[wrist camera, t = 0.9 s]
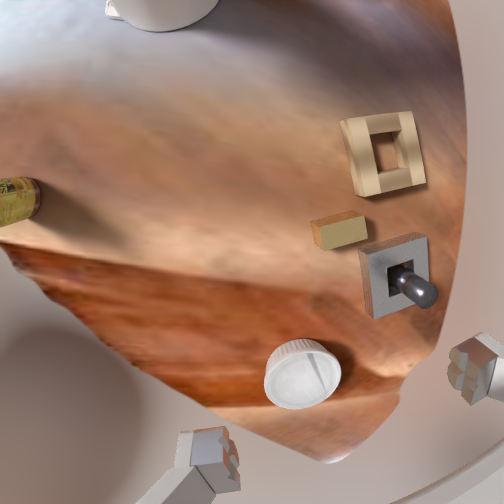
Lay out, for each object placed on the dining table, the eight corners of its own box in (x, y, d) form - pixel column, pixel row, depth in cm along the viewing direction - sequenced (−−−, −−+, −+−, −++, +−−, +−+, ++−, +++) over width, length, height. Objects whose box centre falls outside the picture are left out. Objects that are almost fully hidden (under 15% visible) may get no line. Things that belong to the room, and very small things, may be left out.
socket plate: (358, 249, 41) (367, 254, 38) (415, 231, 41) (426, 236, 38) (365, 310, 44) (373, 319, 41) (419, 291, 44) (429, 298, 41)
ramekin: (344, 348, 46) (356, 367, 40) (303, 396, 48) (310, 417, 42) (288, 319, 43) (296, 338, 38) (247, 374, 45) (249, 395, 40)
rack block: (339, 121, 36) (347, 118, 34) (400, 113, 37) (411, 110, 34) (355, 194, 39) (365, 196, 36) (414, 181, 39) (425, 182, 36)
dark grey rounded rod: (381, 264, 42) (417, 289, 33) (399, 258, 42) (437, 281, 33) (383, 284, 43) (418, 312, 33) (401, 278, 43) (437, 304, 33)
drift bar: (310, 221, 40) (319, 227, 36) (351, 210, 40) (364, 215, 36) (314, 243, 40) (323, 251, 37) (355, 231, 40) (367, 238, 37)
